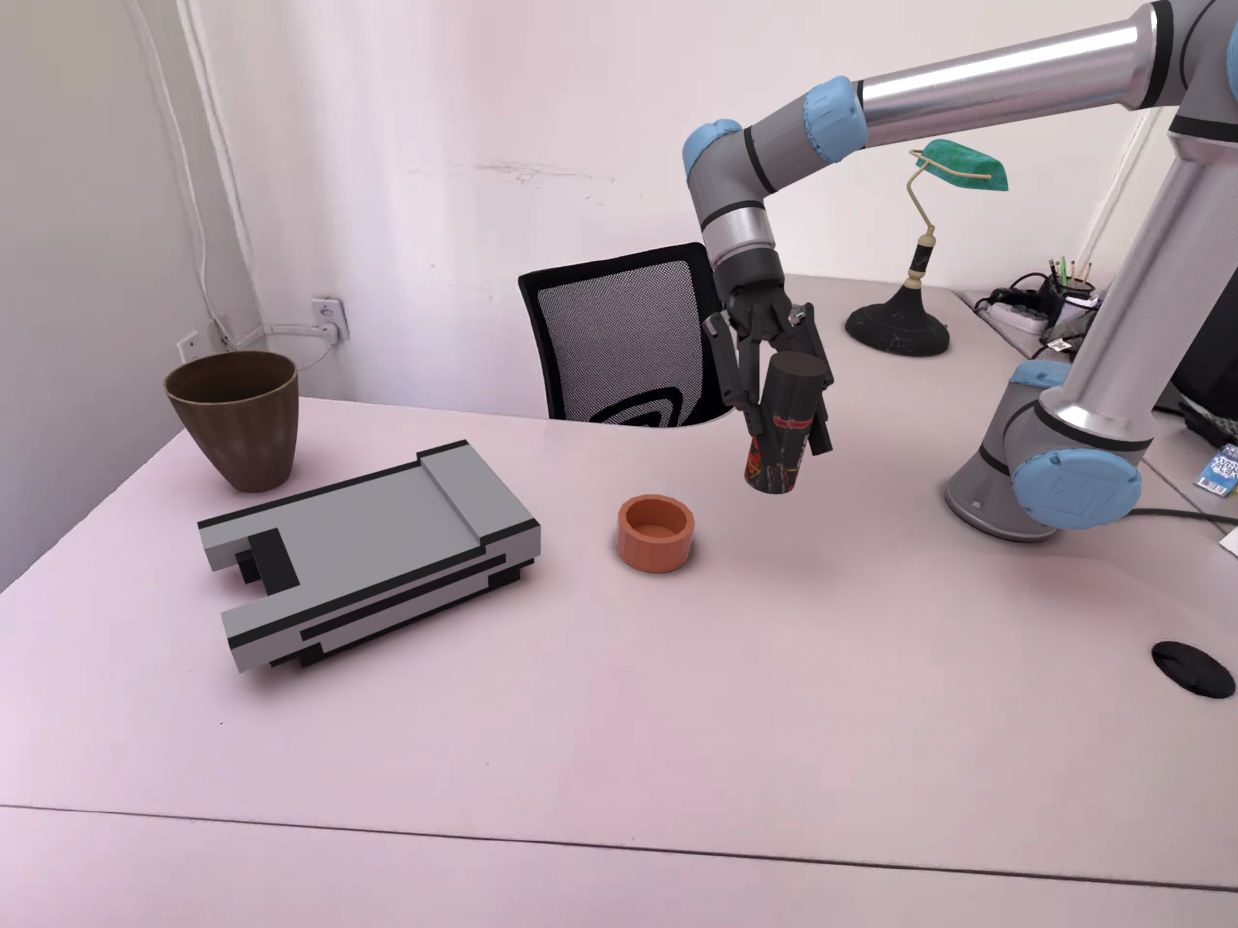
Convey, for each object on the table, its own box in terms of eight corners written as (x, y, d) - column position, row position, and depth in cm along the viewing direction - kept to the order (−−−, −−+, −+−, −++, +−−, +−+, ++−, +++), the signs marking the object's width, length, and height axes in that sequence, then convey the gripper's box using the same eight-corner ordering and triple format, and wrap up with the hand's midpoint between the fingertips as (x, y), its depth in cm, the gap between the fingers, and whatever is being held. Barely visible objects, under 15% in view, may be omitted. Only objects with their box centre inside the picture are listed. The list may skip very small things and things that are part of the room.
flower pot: (249, 440, 98) (220, 342, 89) (340, 457, 96) (320, 359, 87) (175, 498, 86) (132, 392, 77) (277, 519, 84) (246, 412, 75)
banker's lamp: (968, 364, 140) (1052, 163, 117) (863, 357, 140) (926, 153, 117) (923, 317, 162) (985, 140, 139) (831, 310, 161) (879, 131, 139)
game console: (214, 567, 76) (193, 513, 72) (469, 487, 93) (465, 438, 88) (249, 697, 63) (226, 641, 58) (540, 577, 79) (540, 525, 74)
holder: (696, 533, 88) (701, 504, 85) (679, 581, 80) (684, 551, 77) (628, 516, 90) (631, 487, 87) (605, 560, 82) (608, 530, 79)
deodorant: (795, 498, 74) (829, 380, 65) (742, 489, 74) (769, 371, 66) (794, 469, 78) (825, 356, 70) (745, 461, 79) (770, 347, 71)
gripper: (792, 270, 80) (844, 451, 78) (656, 282, 73) (707, 480, 71) (831, 239, 73) (889, 436, 71) (684, 248, 66) (743, 467, 64)
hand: (798, 458), depth 71 cm, fingers closed on deodorant, 6 cm apart
